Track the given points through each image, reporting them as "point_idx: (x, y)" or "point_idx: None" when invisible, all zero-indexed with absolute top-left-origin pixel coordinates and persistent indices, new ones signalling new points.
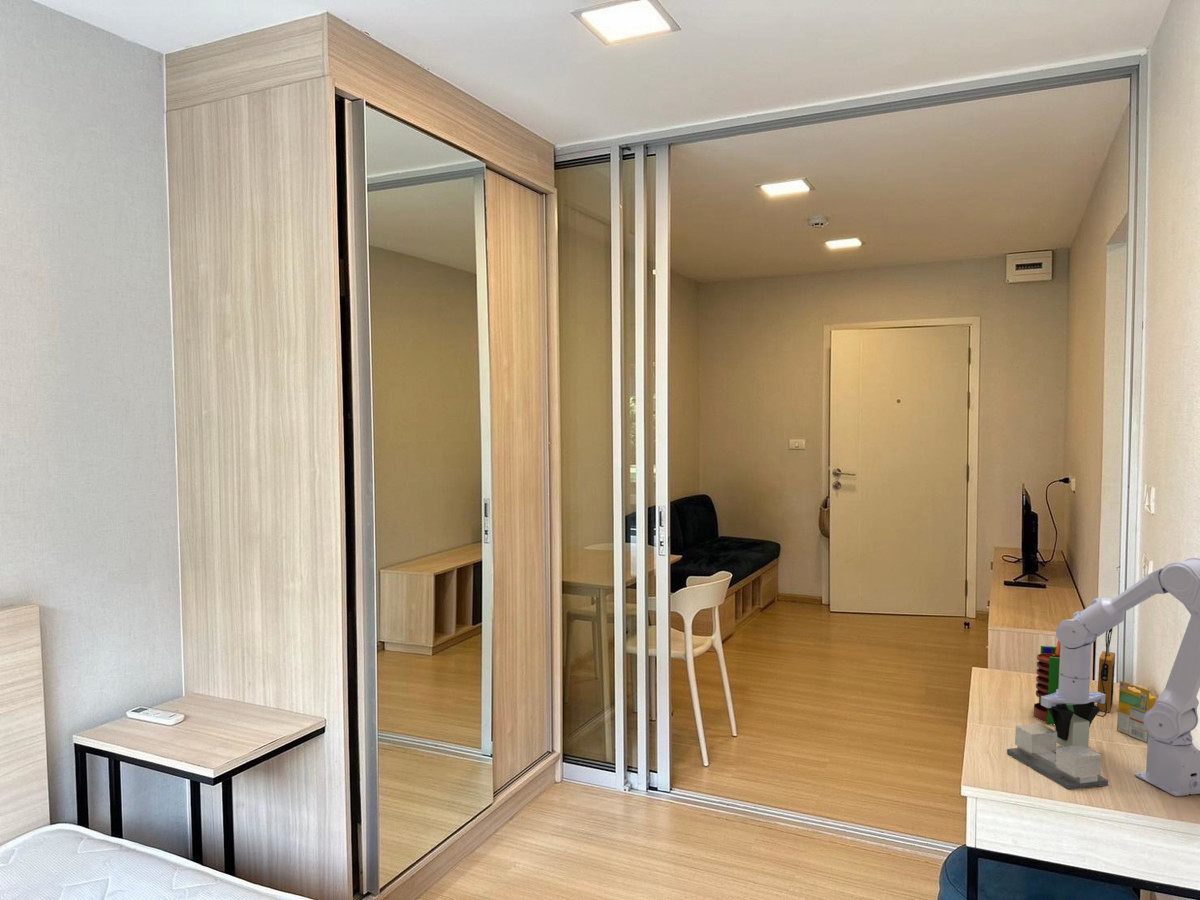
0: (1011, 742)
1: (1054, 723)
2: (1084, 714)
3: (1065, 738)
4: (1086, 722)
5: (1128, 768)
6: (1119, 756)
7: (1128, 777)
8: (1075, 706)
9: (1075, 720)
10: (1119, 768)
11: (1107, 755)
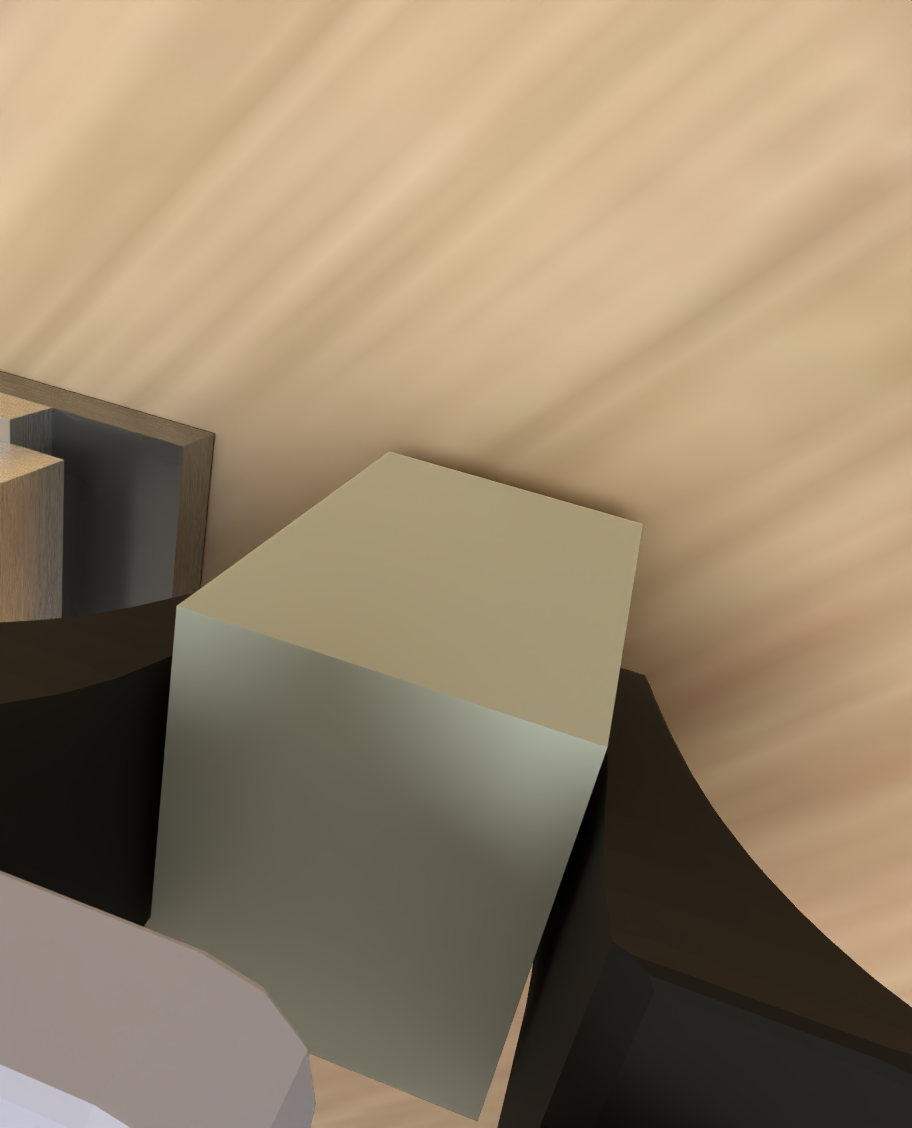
0: (26, 74)
1: (154, 604)
2: (507, 1114)
3: None
4: (412, 1082)
5: None
6: (856, 942)
7: (425, 1106)
8: (569, 999)
9: (270, 970)
10: None
11: (759, 865)
